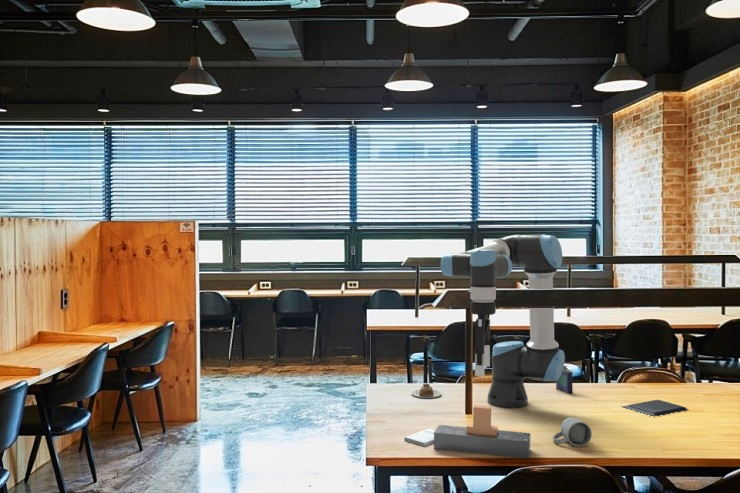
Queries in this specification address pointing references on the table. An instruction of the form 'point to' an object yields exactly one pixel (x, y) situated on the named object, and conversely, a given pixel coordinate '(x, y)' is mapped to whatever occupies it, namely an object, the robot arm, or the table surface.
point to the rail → (482, 442)
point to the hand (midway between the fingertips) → (482, 370)
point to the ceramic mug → (573, 432)
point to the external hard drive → (422, 437)
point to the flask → (565, 381)
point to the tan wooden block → (482, 421)
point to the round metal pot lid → (426, 392)
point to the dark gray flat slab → (655, 408)
